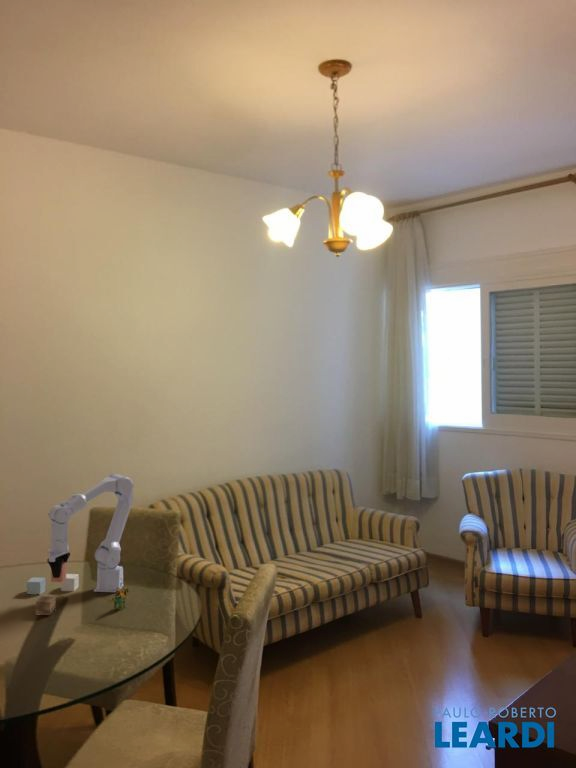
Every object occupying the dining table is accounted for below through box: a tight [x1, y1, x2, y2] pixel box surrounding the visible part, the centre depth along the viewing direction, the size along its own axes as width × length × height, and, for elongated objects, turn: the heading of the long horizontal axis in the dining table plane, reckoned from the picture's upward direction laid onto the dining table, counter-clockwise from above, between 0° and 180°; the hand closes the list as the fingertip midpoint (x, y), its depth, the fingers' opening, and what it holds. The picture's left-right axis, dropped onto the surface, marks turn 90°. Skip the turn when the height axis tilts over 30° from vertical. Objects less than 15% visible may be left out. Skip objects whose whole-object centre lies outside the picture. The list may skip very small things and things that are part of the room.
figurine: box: [107, 586, 130, 612], centre depth 228 cm, size 3×12×8 cm, turn 158°
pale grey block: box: [60, 573, 80, 592], centre depth 247 cm, size 5×5×5 cm
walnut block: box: [35, 595, 57, 615], centre depth 223 cm, size 5×5×5 cm
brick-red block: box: [50, 562, 67, 583], centre depth 235 cm, size 4×4×6 cm
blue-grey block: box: [26, 577, 46, 595], centre depth 242 cm, size 5×5×5 cm
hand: (58, 575), depth 235 cm, fingers closed on brick-red block, 4 cm apart
